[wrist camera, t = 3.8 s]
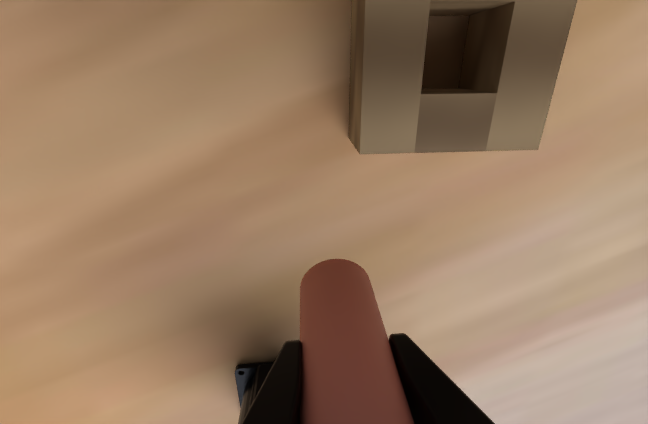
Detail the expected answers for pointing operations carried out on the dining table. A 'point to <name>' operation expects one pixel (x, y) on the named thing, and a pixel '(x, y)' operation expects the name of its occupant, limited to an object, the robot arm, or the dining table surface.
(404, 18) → the brown square holed block
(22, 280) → the dining table surface
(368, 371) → the reddish pink rod
